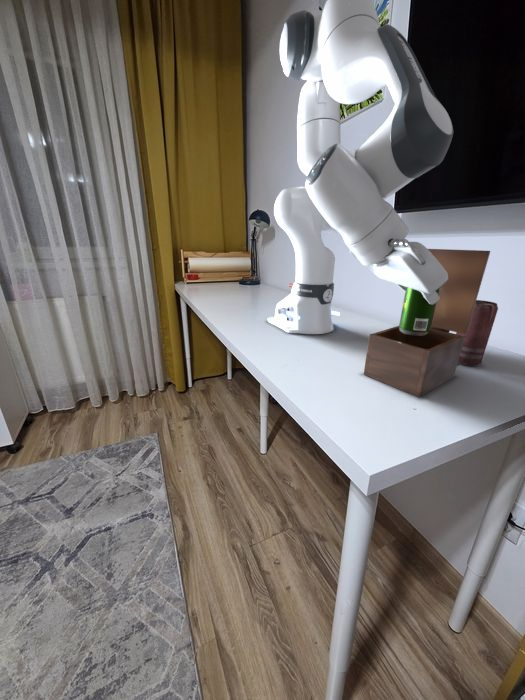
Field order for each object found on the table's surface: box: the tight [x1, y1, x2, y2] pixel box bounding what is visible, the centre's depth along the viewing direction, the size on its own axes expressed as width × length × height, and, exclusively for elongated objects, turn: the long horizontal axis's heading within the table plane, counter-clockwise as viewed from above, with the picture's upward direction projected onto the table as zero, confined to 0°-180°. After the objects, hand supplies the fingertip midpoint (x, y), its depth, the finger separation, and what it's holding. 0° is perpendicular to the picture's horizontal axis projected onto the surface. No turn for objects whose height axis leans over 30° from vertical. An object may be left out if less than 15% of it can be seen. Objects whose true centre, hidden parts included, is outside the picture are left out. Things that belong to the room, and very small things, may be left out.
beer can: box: [398, 287, 440, 336], centre depth 53 cm, size 5×5×12 cm
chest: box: [363, 325, 465, 398], centre depth 58 cm, size 15×12×9 cm
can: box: [455, 299, 499, 367], centre depth 65 cm, size 6×6×14 cm
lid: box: [427, 248, 491, 334], centre depth 59 cm, size 15×12×5 cm
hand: (423, 297), depth 53 cm, fingers closed on beer can, 5 cm apart
